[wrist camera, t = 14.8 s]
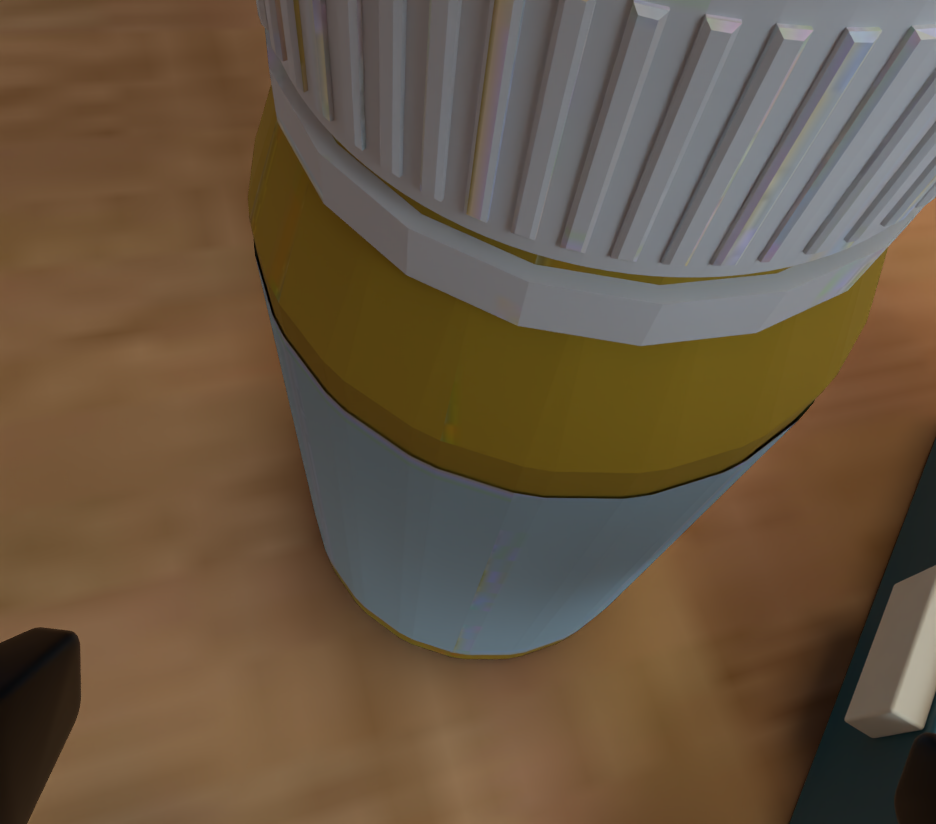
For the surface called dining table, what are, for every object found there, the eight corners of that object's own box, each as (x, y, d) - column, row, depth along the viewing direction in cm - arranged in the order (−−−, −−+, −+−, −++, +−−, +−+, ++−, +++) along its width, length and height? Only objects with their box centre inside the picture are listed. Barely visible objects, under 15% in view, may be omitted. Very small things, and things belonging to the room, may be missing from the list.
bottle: (503, 320, 21) (716, -605, 7) (694, 539, 18) (1503, -202, 5) (258, 469, 18) (-89, -489, 5) (445, 739, 16) (722, 340, 3)
